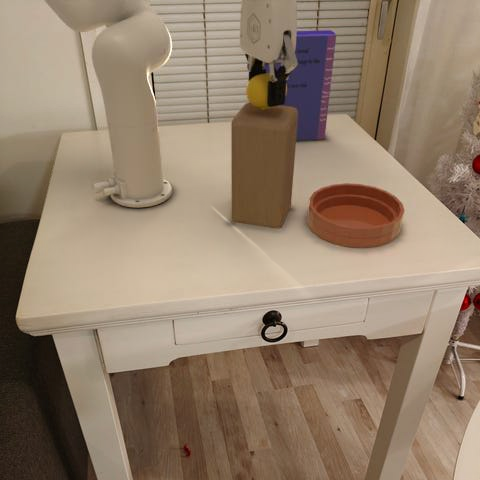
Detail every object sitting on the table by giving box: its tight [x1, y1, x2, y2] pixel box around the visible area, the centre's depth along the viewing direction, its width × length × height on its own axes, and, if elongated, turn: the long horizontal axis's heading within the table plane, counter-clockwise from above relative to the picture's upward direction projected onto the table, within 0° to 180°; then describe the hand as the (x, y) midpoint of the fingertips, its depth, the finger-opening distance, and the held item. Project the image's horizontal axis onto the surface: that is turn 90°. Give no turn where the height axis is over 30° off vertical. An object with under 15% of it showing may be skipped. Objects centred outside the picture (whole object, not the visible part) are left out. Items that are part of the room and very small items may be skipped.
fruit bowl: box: [306, 182, 405, 249], centre depth 101 cm, size 17×17×4 cm
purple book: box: [263, 29, 337, 142], centre depth 128 cm, size 17×5×24 cm, turn 98°
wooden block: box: [230, 101, 298, 229], centre depth 99 cm, size 10×10×20 cm
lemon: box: [245, 73, 287, 110], centre depth 90 cm, size 8×5×5 cm
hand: (266, 98), depth 91 cm, fingers closed on lemon, 5 cm apart
